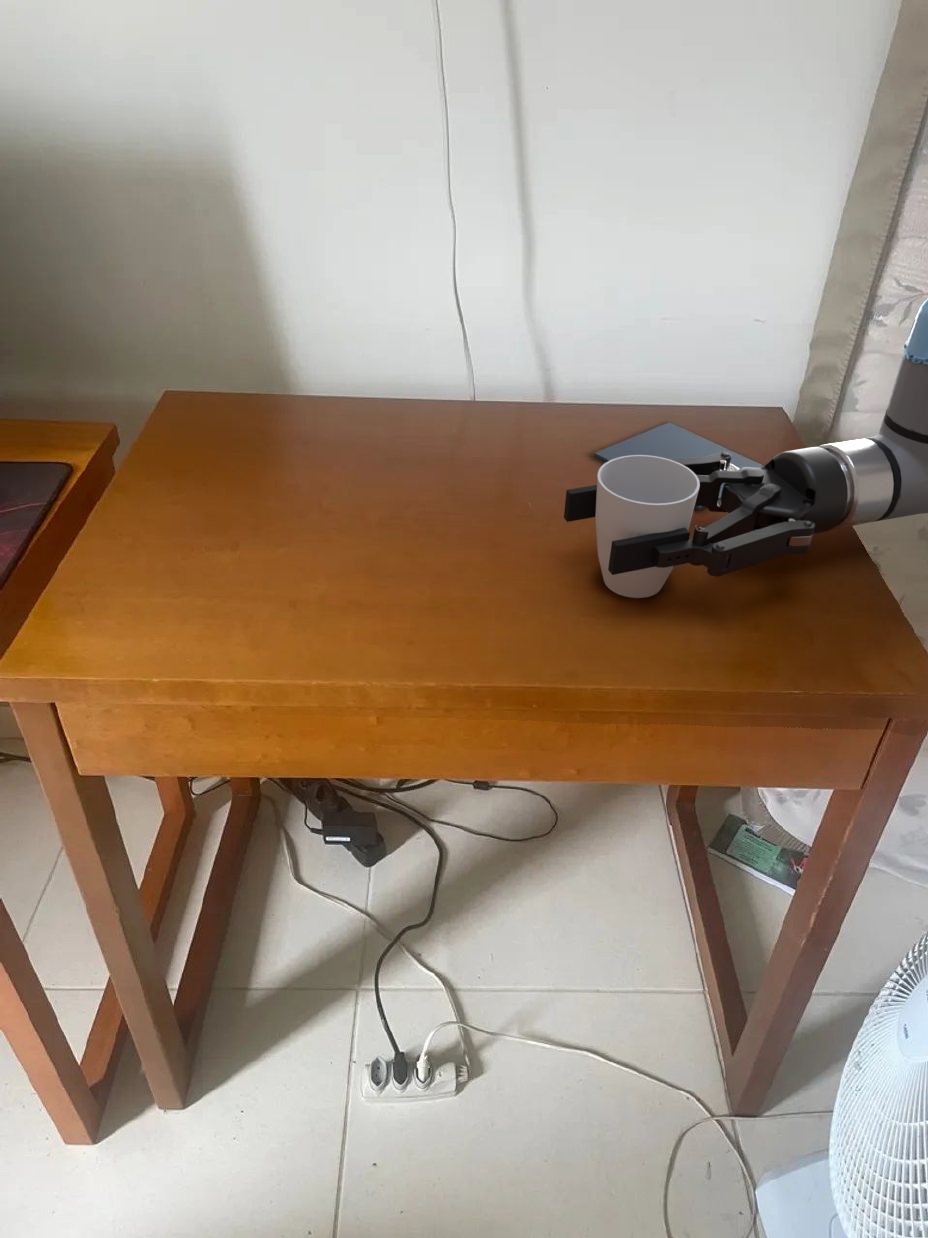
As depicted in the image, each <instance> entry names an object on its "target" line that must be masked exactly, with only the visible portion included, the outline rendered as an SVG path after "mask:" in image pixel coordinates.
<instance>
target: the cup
mask: <svg viewBox="0 0 928 1238" xmlns="http://www.w3.org/2000/svg"><path fill="white" fill-rule="evenodd" d="M596 479H597V480H596V481H597V482H596V485H597V498H596V517H594V519H595V533H596V549H597V558H598V562H599V566H600V571H601V575H602V578H603V582H604V585H605V586H606V587H607V588H608V589H609V590H610V591H612V592H613V593H615V594H617V595H620V596H622V597H627V598H633V599H643V598H650V597H652V596H655V595H656V594H658V593H659V592H660V591H661V589H662V588H663V586H664V584H665V583H666V581H667V580H668V578H669V576H670V574H671V572H672V571H673V569H674V567H675V566H670V567H666V568H658V567H651V568H646V569H641V570H636V571H631V572H625V573H620V574H615V575H612V574H611V573H610V572H609V570H608V567H609V560H610V552H611V545H612V541H615V540H621V539H626V538H632V537H637V536H642V535H648V534H653V533H662V532H669V531H673V530H676V529H680V528H686V529H687V530H688V531H689V529H690V525H691V522H692V518H693V514H694V509H695V508H694V506H695V503H696V499H697V495H698V491H699V487H700V482H699V479H698V477H697V476H696V474H695V473H694V472H693V471H692V470H690V469H689V468H687V467H686V466H684V465H682V464H680V463H678V462H675V461H673V460H670V459H666V458H662V457H657V456H649V455H630V456H623V457H618V458H615V459H612V460H610V461H608V462H604V463H603V464H602V465H601V466H600V468H599V469H598V471H597V478H596Z"/></svg>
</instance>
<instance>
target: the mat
mask: <svg viewBox="0 0 928 1238" xmlns="http://www.w3.org/2000/svg"><path fill="white" fill-rule="evenodd" d="M719 452H728V453H730V454H731V455H732V457H731V461H730V463H731V464H732V465H734V466H736V467H737V468H739V469H740V468H744V467H750V468H762V467H764V466H765V465H763V464H761V463H758V462H756V461H754V460H752V459H750V458H748V457H746V456H745V455H741V454H739V453H737V452H735V451H733V450H731V449H728V448H726V447H724V446H722V445H720V444H719V443H716V442H713V441H712V440H709V439H707V438H705V437H702V436H701V435H698V434H696V433H694V432H691V431H690V430H688V429H685V428H683V427H681V426H679V425H676V424H674V423H672V422H667V423H666V422H665V423H664V424H661V425H659V426H656V427H654V428H651V429H650V430H647V431H645V432H642V433H639V434H636V435H634V436H633V437H630V438H627V439H625V440H623V441H620V442H618V443H615V444H613V445H610V446H608V447H606V448H604V449H601V450H597V451H596V452H594V454H593V457H595V458H597V459H599V460H601V461H602V462H604V463H606V462H608V461H610V460H612V459H615V458H618V457H623V456H630V455H649V456H657V457H662V458H666V459H678V458H691V457H704V456H709V455H713V454H716V453H719ZM724 484H725V483H723V484H722V485H721V488H720V493H719V498H718V500H721V494H722V489H723V486H724ZM706 508H707V507H705V506H694V509H695V510H697V511H702V510H703V509H706Z"/></svg>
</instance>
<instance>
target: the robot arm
mask: <svg viewBox="0 0 928 1238" xmlns="http://www.w3.org/2000/svg"><path fill="white" fill-rule="evenodd" d="M731 457H732V455H731V454H730V453H728V452H719V453H716V454H713V455H709V456H704V457H691V458H678V459H670V460H673V461H675V462H678V463H680V464H682V465H684V466H686V467H687V468H689V469H690V470H692V471H693V472H694V473H695V474H696V476H697V477H698V479H699V482H700V487H699V491H698V495H697V499H696V503H695V506H705V507H706V508H707V510H708V511H709V512H713V513H728V514H725V515H724V516H722V517H720V518H718V519H717V520H715V521H713V522H711V523H710V524H708V525H706V526H704V527H701V526H698V524H696V525H695V526H694V529H693V535H692V538H690V536H691V531H689V530H687V529H686V528H680V529H676V530H673V531H669V532H662V533H653V534H648V535H642V536H637V537H632V538H626V539H621V540H615V541H612V545H611V552H610V560H609V567H608V570H609V572H610V573H611V574H612V575H615V574H620V573H625V572H631V571H636V570H641V569H646V568H651V567H658V568H666V567H670V566H674V567H675V566H680V565H685V564H686V565H687V564H690V565H692V566H696V567H698V566H703V567H705V568H707V569H706V573H707V574H708V575H709V576H711V577H714V578H718V577H722V576H724V575H729V574H731V573H734V572H736V571H739V570H743V569H746V568H749V567H752V566H755V565H758V564H761V563H764V562H767V561H770V560H773V559H776V558H780V557H783V556H785V555H787V556H788V555H799V554H807V553H809V551H810V546H811V543H812V539H813V537H814V535H816V534H817V535H818V534H821V533H825V532H826V533H827V532H830V531H831V530H839V529H844V528H849V527H853V526H858V525H863V524H868V523H875V522H880V521H881V522H882V521H887V520H891V519H897V518H904V517H909V516H914V515H915V516H916V515H920V514H921V515H922V514H928V298H927V299H926V300H924V301H923V302H922V304H921V305H920V307H919V309H918V311H917V314H916V316H915V318H914V320H913V323H912V326H911V328H910V331H909V334H908V337H907V340H906V341H905V343H904V345H903V347H902V355H901V359H900V362H899V366H898V369H897V373H896V376H895V380H894V383H893V387H892V390H891V393H890V397H889V401H888V404H887V408H886V410H885V413H884V416H883V419H882V422H881V424H880V428H879V431H878V433H877V435H873V436H869V437H865V438H864V437H863V438H860V439H859V438H858V439H853V440H846V441H839V442H831V443H825V444H821V445H819V446H811V447H805V448H798V449H792V450H786V451H783V452H780V453H778V454H776V455H775V456H774V457H772V459H771V460H769V461H768V462H767V463H766V464H765V465H763V466H764V467H762V468H750V467H744V468H740V469H739V468H737V467H736V466H734V465H732V464H731V463H730V461H731ZM723 483H725V484H724V486H723V489H722V494H721V500H718V498H719V493H720V488H721V485H722V484H723ZM596 498H597V484H594V485H587V486H582V487H575V488H569V489H566V492H565V502H564V503H565V504H564V509H563V510H564V513H563V518H564V520H565V521H566V522H567V523H570V522H575V521H580V520H586V519H587V520H588V519H593V518H596ZM727 555H728V557H727Z"/></svg>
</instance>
